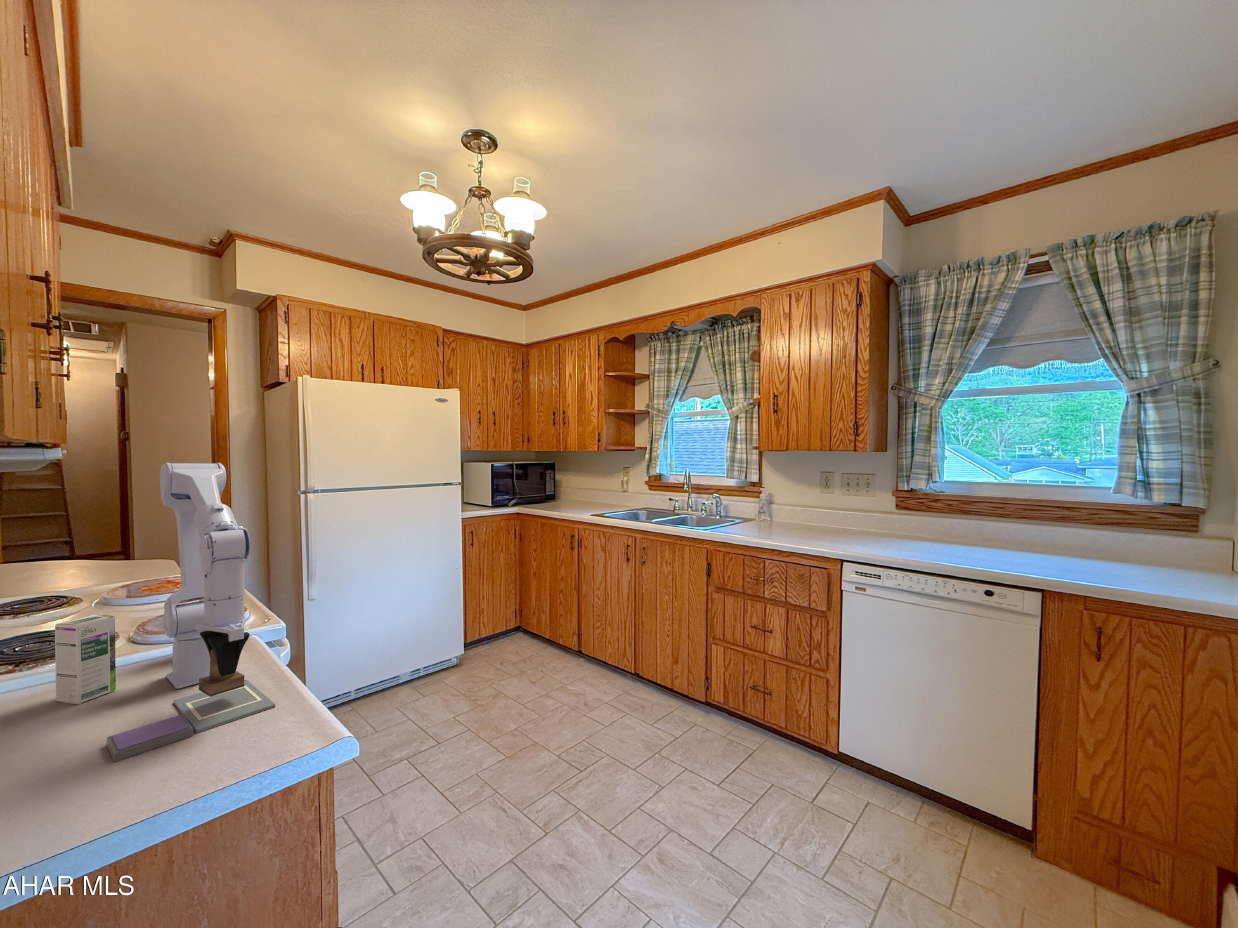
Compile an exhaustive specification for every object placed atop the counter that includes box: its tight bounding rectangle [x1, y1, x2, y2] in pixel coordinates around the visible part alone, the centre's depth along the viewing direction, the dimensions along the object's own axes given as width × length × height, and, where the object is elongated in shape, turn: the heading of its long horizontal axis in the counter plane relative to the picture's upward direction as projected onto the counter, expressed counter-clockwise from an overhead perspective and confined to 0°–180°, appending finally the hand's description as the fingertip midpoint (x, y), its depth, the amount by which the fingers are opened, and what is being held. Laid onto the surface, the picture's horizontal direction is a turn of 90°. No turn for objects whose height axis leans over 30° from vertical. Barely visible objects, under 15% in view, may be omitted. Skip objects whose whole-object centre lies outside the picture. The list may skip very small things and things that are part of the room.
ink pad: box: [106, 713, 194, 763], centre depth 78 cm, size 7×9×1 cm
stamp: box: [198, 649, 245, 697], centre depth 89 cm, size 5×5×7 cm
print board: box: [173, 679, 276, 734], centre depth 89 cm, size 16×11×1 cm
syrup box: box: [54, 614, 117, 705], centre depth 92 cm, size 6×6×14 cm
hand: (224, 671), depth 89 cm, fingers closed on stamp, 3 cm apart
